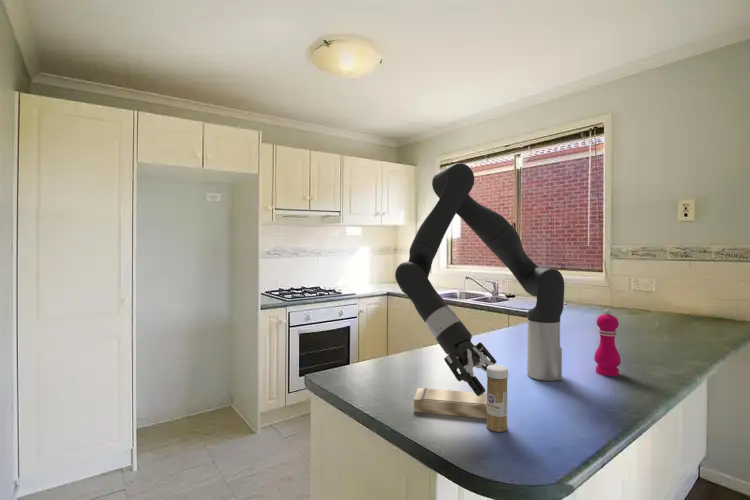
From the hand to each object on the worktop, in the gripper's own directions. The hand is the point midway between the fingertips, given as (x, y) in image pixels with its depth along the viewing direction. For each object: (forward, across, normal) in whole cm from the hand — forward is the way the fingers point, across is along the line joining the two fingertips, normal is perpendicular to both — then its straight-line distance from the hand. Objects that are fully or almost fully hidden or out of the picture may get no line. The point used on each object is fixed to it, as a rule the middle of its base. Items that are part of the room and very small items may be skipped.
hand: (491, 388), depth 89 cm
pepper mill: (+12, +59, 0) cm, 60 cm away
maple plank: (-2, +3, +14) cm, 14 cm away
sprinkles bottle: (+7, 0, +5) cm, 9 cm away
